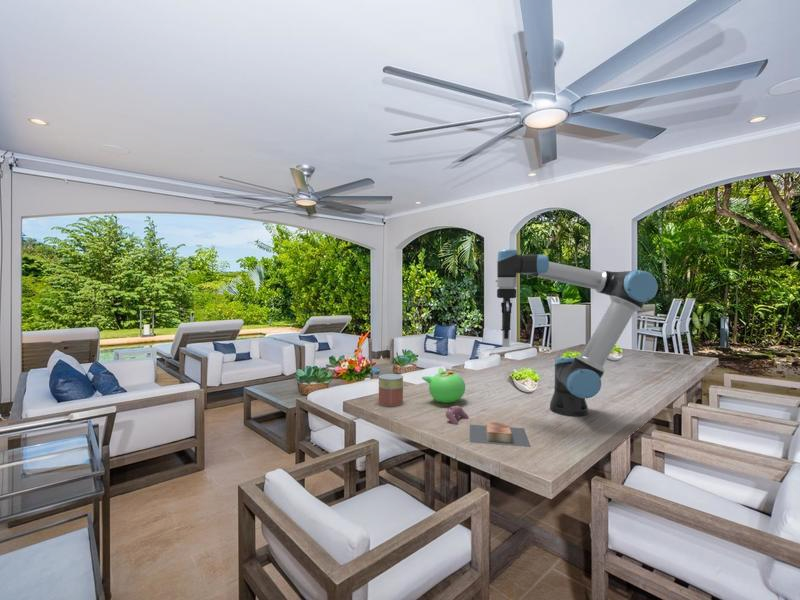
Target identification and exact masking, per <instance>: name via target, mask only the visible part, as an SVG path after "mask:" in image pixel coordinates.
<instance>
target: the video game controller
mask: <svg viewBox="0 0 800 600" xmlns="http://www.w3.org/2000/svg"><path fill="white" fill-rule="evenodd" d="M445 417H446V418H447V420H449V421H448V422H450V423H451V424H452V425H457V426H458V425H459V422H458V420H460V419H461V418H462V419H466V420H468V419H469V415H468V414H467V413H466V412H465V410H464V409H463V408H462V407H461V406H460V405H454V406H453V405H452V406H451V407H449V408H448V409H447V410H446V411H445Z"/></svg>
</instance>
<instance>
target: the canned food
mask: <svg viewBox="0 0 800 600" xmlns="http://www.w3.org/2000/svg"><path fill="white" fill-rule="evenodd" d="M403 404H404V375H402V374H398V373H384V374H380V375H379V376H378V405H381V406H385V407H397V406H401V405H403Z"/></svg>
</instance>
